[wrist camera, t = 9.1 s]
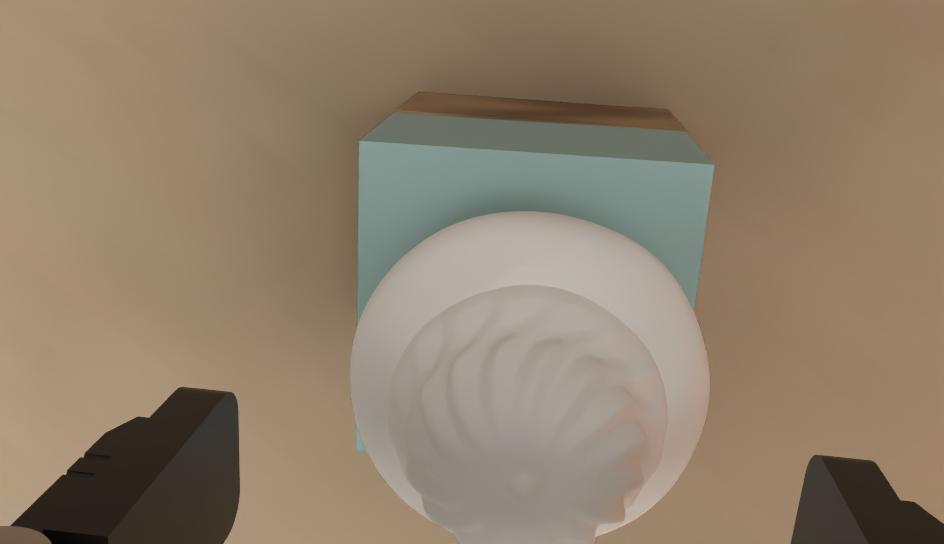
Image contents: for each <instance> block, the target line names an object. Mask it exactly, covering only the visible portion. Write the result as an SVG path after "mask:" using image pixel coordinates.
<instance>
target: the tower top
mask: <svg viewBox="0 0 944 544" xmlns="http://www.w3.org/2000/svg"><path fill="white" fill-rule="evenodd" d="M714 167H715V164H714V163H713V162H712V161H711V160H710V159H709V158H708V156H707V155H706V154H705V153H704V152H703V151H702V150H701V149H700V147H699V146H698V145H697V144H696V143H695V142H694V141H693V140H692V138H691V137H690V136H689V135H688V134H687V133H686V132H683V131H667V130H652V129H637V128H621V127H606V126H590V125H575V124H560V123H544V122H529V121H513V120H498V119H482V118H467V117H452V116H436V115H421V114H405V113H393V114H391V115H390V116H389V117H388V118H386V119H385V120H384V121H383V122H382V123H380V124H379V125H378V126H377V127H375V128H374V129H373V130H372V131H371V132H369V133H368V134H367V135H366V136H364V137H363V138H362V139H361V140H360V141H359V203H358V293H357V326H358V323H359V320H360V318H361V315H362V313H363V311H364V308H365V306H366V304H367V303H368V301H369V299H370V297H371V295H372V294H373V292H374V291H375V289H376V288H377V286H378V285H379V283H380V282H381V281H382V279H383V278H384V277H385V275H386V274H387V273H388V272H389V271H390V269H391V268H392V267H393V266H394V265H395V264H396V263H397V262H398V261H399V260H400V259H401V258H402V257H403V256H404V255H406V254H407V253H408V252H409V251H410V250H412V249H413V248H414V247H415V246H417V245H418V244H419V243H421V242H422V241H423V240H425V239H426V238H428V237H430V236H431V235H433V234H435V233H437V232H438V231H440V230H442V229H444V228H446V227H449V226H451V225H453V224H455V223H458V222H461V221H464V220H467V219H471V218H474V217H478V216H482V215H487V214H493V213H500V212H511V211H537V212H548V213H556V214H562V215H567V216H571V217H575V218H579V219H583V220H586V221H589V222H593V223H595V224H598V225H601V226H604V227H607V228H609V229H612V230H614V231H616V232H618V233H620V234H622V235H624V236H626V237H628V238H630V239H632V240H633V241H635V242H636V243H638V244H640V245H641V246H642V247H644V248H645V249H646V250H648V251H649V252H650V253H652V254H653V255H654V256H655V257H656V258H657V259H658V260H659V261H660V262H661V263H662V264H663V265H664V266H665V267H666V268H667V269H668V271H669V272H670V273H671V274H672V275H673V277H674V278H675V280H676V281H677V283H678V284H679V285H680V287H681V288H682V290H683V292H684V293H685V295H686V297H687V299H688V301H689V303H690V305H691V307H692V309H693V311H694V309H695V302H696V295H697V288H698V281H699V274H700V267H701V260H702V252H703V245H704V238H705V231H706V224H707V217H708V210H709V203H710V196H711V188H712V181H713V174H714ZM356 451H362V452H367V450H366V448H365V446H364V443H363V441H362V439H361V436H360V433H359V430H358V427H357V423H356Z"/></svg>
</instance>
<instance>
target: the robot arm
mask: <svg viewBox="0 0 944 544" xmlns="http://www.w3.org/2000/svg"><path fill="white" fill-rule="evenodd" d="M239 494H240V473H239V426H238V404H237V399H236V397H235V395H234V394H233V393H232V392H225V391H216V390H206V389H196V388H187V387H180V388H178V389H177V390H176V391H175V392H174V393H173V394H172V395H171V396H170V397H169V398H168V399H167V400H166V401H165V402H164V403H163V404H162V405H161V406H160V407H159V408H158V409H157V410H156V411H155V412H154V413H153V415H152V416H151V417H150V418H145V417H136V418H134V419H132V420H130V421H128V422H126V423H124V424H122V425H120V426H118V427H116V428H114V429H112V430H110V431H108V432H106V433H105V434H104V435H103V436H102V437H101V438H100V439H99V440H98V441H97V442H96V443H95V444H94V445H93V446H92V447H91V448H90V449H89V450H88V451H86V452H85V455H84V458H81V457H80V458H79V459H78V460H77V461H76V462H75V463H74V464H73V465H72V466H71V467H70V468H69V469H68V470H67V474H66V475H62V476H61V477H60V478H59V479H58V480H57V481H56V482H55V483H54V484H53V485H52V486H51V487H50V488H49V489H48V490H47V491H45V492H44V493H43V494H42V495H41V496H40V497H39V498H38V499H37V500H36V501H35V502H34V503H33V504H32V505H31V506H30V507H29V508H28V509H27V510H26V511H25V512H24V513H23V514H22V515H21V516H20V517H19V518H18V519H17V520H16V521H15V522H14V523H13V524H12V525H11V526H0V544H223V543H224V542H225V540H226V538H227V537H228V535H229V533H230V531H231V529H232V526H233V524H234V521H235V517H236V513H237V509H238V503H239ZM791 544H944V524H943V523H941V522H940V521H939V520H937V519H936V518H935V517H933V516H932V515H931V514H929V513H928V512H927V511H926V510H924V509H923V508H922V507H920V506H919V505H918V504H916V503H915V502H910V501H901V500H900V499H899V498H898V496H897V495H896V493H895V492H894V490H893V489H892V487H891V486H890V484H889V482H888V481H887V479H886V478H885V476H884V475H883V473H882V472H881V470H880V469H879V467H878V466H877V464H876V463H875V462H873V461H870V460H861V459H851V458H842V457H832V456H823V455H814V456H813V457H812V458H811V460H810V461H809V464H808V466H807V470H806V474H805V478H804V483H803V488H802V493H801V497H800V502H799V507H798V512H797V516H796V521H795V526H794V531H793V536H792V540H791Z"/></svg>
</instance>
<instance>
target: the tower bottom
mask: <svg viewBox="0 0 944 544" xmlns="http://www.w3.org/2000/svg"><path fill="white" fill-rule="evenodd" d="M396 113H405V114H421V115H436V116H452V117H467V118H482V119H498V120H513V121H529V122H544V123H560V124H575V125H590V126H606V127H621V128H637V129H652V130H667V131H683V132H686V133H687V134H688V131H687V130H686V129H685V128H684V127H683V125H682V124H681V123H680V122H679V121H678V120H677V119H676V118H675V117H674V116H673V114H672V113H671V112H670V111H669V110H665V109H651V108H638V107H624V106H610V105H596V104H582V103H568V102H554V101H540V100H526V99H512V98H498V97H485V96H471V95H457V94H443V93H429V92H418V93H417V94H415V95H414V96H413V97H412V98H410V99H409V100H408V101H407V102H405V103H404V104H403V105H402V106H400V107H399V108H398V109H397V110H396Z"/></svg>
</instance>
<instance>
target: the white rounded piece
mask: <svg viewBox="0 0 944 544" xmlns="http://www.w3.org/2000/svg"><path fill="white" fill-rule="evenodd" d="M350 391H351V400H352V406H353V411H354V415H355V420H356V423H357V427H358V430H359V433H360V436H361V439H362V441H363V443H364V446H365V448H366V450H367V452H368V455H369V456H370V458H371V460H372V462H373V464H374V465H375V467H376V469H377V470H378V472H379V473H380V475H381V476H382V477H383V478H384V480H385V481H386V482H387V484H388V485H389V486H390V487H391V488H392V490H393V491H394V492H395V493H396V494H397V495H398V496H399V497H400V498H401V499H402V500H403V501H405V502H406V503H407V504H408V505H409V506H410V507H412V508H413V509H414V510H415V511H417V512H418V513H419V514H421V515H422V516H424V517H425V518H427V519H428V520H430V521H431V522H433V523H434V524H436V525H437V526H440V527H441V528H443V529H445V530H447V531H449V532H451V533H453V535H454V536H455V538H456V540H457V541H458V543H459V544H594V542H595V537H596V536H599V535H602V534H605V533H608V532H610V531H613V530H615V529H617V528H619V527H622V526H624V525H626V524H627V523H629V522H631V521H633V520H635V519H636V518H638V517H640V516H641V515H642V514H644V513H645V512H646V511H648V510H649V509H651V508H652V507H653V506H654V505H655V504H656V503H657V502H659V501H660V500H661V499H662V498H663V497H664V496H665V495H666V493H667V492H668V491H669V490H670V489H671V488H672V486H673V485H674V484H675V483H676V481H677V480H678V479H679V477H680V476H681V474H682V473H683V471H684V470H685V468H686V466H687V465H688V463H689V461H690V459H691V457H692V455H693V453H694V451H695V449H696V447H697V445H698V442H699V439H700V437H701V434H702V431H703V427H704V424H705V420H706V416H707V411H708V404H709V395H710V374H709V366H708V358H707V353H706V349H705V344H704V340H703V337H702V333H701V330H700V327H699V324H698V322H697V319H696V316H695V314H694V311H693V309H692V307H691V305H690V303H689V301H688V299H687V297H686V295H685V293H684V292H683V290H682V288H681V287H680V285H679V284H678V283H677V281H676V280H675V278H674V277H673V275H672V274H671V273H670V272H669V271H668V269H667V268H666V267H665V266H664V265H663V264H662V263H661V262H660V261H659V260H658V259H657V258H656V257H655V256H654V255H653V254H652V253H650V252H649V251H648V250H646V249H645V248H644V247H642V246H641V245H640V244H638V243H636V242H635V241H633V240H632V239H630V238H628V237H626V236H624V235H622V234H620V233H618V232H616V231H614V230H612V229H609V228H607V227H604V226H601V225H598V224H595V223H593V222H589V221H586V220H583V219H579V218H575V217H571V216H567V215H562V214H556V213H548V212H537V211H511V212H500V213H493V214H487V215H482V216H478V217H474V218H471V219H467V220H464V221H461V222H458V223H455V224H453V225H451V226H449V227H446V228H444V229H442V230H440V231H438V232H437V233H435V234H433V235H431V236H430V237H428V238H426V239H425V240H423V241H422V242H421V243H419V244H418V245H417V246H415V247H414V248H413V249H412V250H410V251H409V252H408V253H407V254H406V255H404V256H403V257H402V258H401V259H400V260H399V261H398V262H397V263H396V264H395V265H394V266H393V267H392V268H391V269H390V271H389V272H388V273H387V274H386V275H385V277H384V278H383V279H382V281H381V282H380V283H379V285H378V286H377V288H376V289H375V291H374V292H373V294H372V295H371V297H370V299H369V301H368V303H367V304H366V306H365V308H364V311H363V313H362V315H361V318H360V320H359V323H358V326H357V329H356V333H355V336H354V341H353V346H352V351H351V360H350Z"/></svg>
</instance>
